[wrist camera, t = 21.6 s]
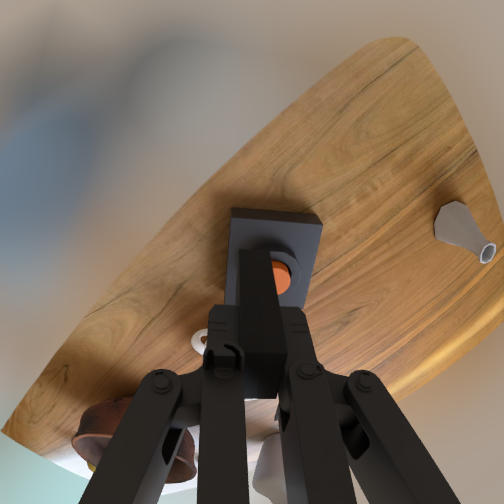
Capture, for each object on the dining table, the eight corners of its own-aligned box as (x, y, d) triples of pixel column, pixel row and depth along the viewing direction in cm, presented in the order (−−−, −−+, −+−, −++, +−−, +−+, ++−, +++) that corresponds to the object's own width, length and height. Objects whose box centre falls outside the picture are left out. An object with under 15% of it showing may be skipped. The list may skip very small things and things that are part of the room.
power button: (257, 259, 38) (259, 267, 36) (290, 261, 38) (293, 268, 37) (254, 286, 40) (255, 295, 38) (285, 288, 40) (287, 296, 39)
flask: (462, 240, 44) (497, 272, 35) (429, 243, 43) (463, 279, 35) (470, 199, 40) (510, 227, 31) (436, 200, 40) (477, 230, 31)
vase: (288, 419, 65) (303, 517, 43) (315, 437, 71) (332, 520, 49) (237, 437, 68) (242, 528, 46) (269, 453, 74) (277, 532, 53)
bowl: (157, 361, 52) (144, 433, 39) (218, 424, 64) (218, 482, 51) (68, 381, 56) (48, 437, 43) (133, 436, 68) (125, 485, 54)
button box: (231, 207, 39) (231, 224, 35) (316, 214, 40) (327, 231, 36) (224, 292, 45) (224, 314, 41) (299, 295, 47) (305, 317, 42)
